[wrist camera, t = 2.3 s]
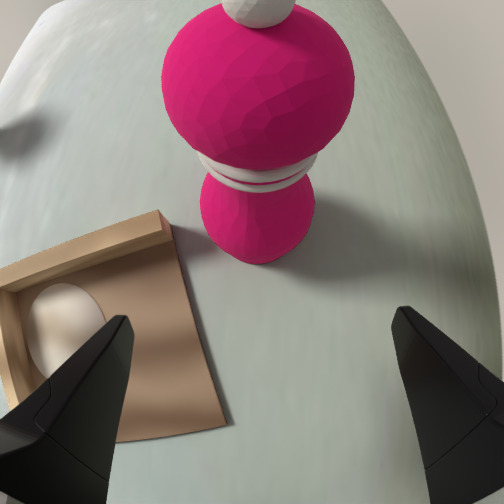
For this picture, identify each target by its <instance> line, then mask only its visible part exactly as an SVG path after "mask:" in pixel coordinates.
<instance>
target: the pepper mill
mask: <svg viewBox="0 0 504 504" xmlns="http://www.w3.org/2000/svg"><path fill="white" fill-rule="evenodd" d="M221 2H222V3H221V4H218V5H216V6H214V7H211V8H209V9H207V10H205V11H203V12H202V13H200V14H199V15H197V16H196V17H195V18H193V19H192V20H190V21H189V22H188V23H187V24H186V25H185V26H184V27H183V28H182V29H181V30H180V31H179V32H178V34H177V36H176V37H175V39H174V40H173V42H172V43H171V45H170V46H169V48H168V50H167V53H166V56H165V59H164V64H163V70H162V76H161V81H162V92H163V98H164V103H165V108H166V111H167V113H168V115H169V118H170V120H171V122H172V124H173V125H174V127H175V128H176V130H177V131H178V133H179V134H180V135H181V136H182V137H183V138H184V139H185V140H186V141H187V142H188V143H189V144H190V145H191V147H192V148H193V149H195V150H197V152H198V155H199V158H200V160H201V162H202V164H203V165H204V167H205V168H206V170H207V171H208V174H207V175H206V178H205V180H204V182H203V186H202V190H201V197H200V209H201V215H202V219H203V223H204V226H205V228H206V230H207V232H208V234H209V236H210V237H211V238H212V240H213V241H214V242H215V243H216V244H217V245H218V246H219V247H220V248H221V249H223V250H224V251H225V252H227V253H229V254H230V255H232V256H233V257H235V258H236V259H238V260H240V261H243V262H246V263H251V264H263V263H268V262H271V261H274V260H276V259H278V258H279V257H281V256H282V255H284V254H286V253H288V252H289V251H291V250H292V249H293V248H294V247H296V246H297V245H298V244H299V243H300V242H301V240H302V239H303V238H304V236H305V235H306V233H307V231H308V229H309V227H310V224H311V221H312V217H313V213H314V205H315V200H314V193H313V188H312V185H311V182H310V179H309V177H308V175H307V174H306V173H307V172H308V171H309V169H310V168H311V167H312V165H313V164H314V162H315V160H316V157H317V154H318V152H319V151H320V150H322V149H323V148H324V147H325V146H326V145H327V144H328V143H329V142H330V141H331V140H332V139H333V138H334V137H335V136H336V134H337V133H338V132H339V131H340V130H341V128H342V126H343V124H344V122H345V120H346V118H347V116H348V114H349V112H350V108H351V104H352V100H353V96H354V81H355V76H354V70H353V64H352V60H351V57H350V54H349V51H348V49H347V47H346V46H345V44H344V42H343V41H342V39H341V38H340V36H339V35H338V34H337V32H336V31H335V30H334V29H333V27H331V26H330V25H329V24H328V23H327V22H326V21H324V20H323V19H322V18H321V17H319V16H318V15H316V14H315V13H313V12H312V11H310V10H307V9H305V8H303V7H301V6H299V5H296V4H295V0H221Z"/></svg>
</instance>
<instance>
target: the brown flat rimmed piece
mask: <svg viewBox="0 0 504 504" xmlns="http://www.w3.org/2000/svg"><path fill="white" fill-rule="evenodd" d="M115 315H127V316H128V318H129V320H130V323H131V325H132V328H133V330H134V335H135V338H134V346H133V353H132V361H131V369H130V376H129V381H128V386H127V390H126V394H125V399H124V403H123V408H122V413H121V417H120V422H119V427H118V432H117V438H116V442H123V441H133V440H142V439H150V438H157V437H164V436H171V435H177V434H183V433H189V432H194V431H200V430H205V429H210V428H215V427H219V426H224V425H227V421H226V419H225V416H224V413H223V410H222V407H221V404H220V401H219V398H218V395H217V392H216V389H215V386H214V382H213V379H212V376H211V373H210V370H209V367H208V363H207V360H206V357H205V354H204V350H203V347H202V343H201V340H200V337H199V333H198V330H197V326H196V323H195V319H194V316H193V312H192V308H191V305H190V301H189V297H188V293H187V290H186V286H185V282H184V278H183V274H182V270H181V266H180V262H179V258H178V254H177V250H176V246H175V241H174V237H173V233H172V228H171V224H170V223H169V222H168V221H167V220H166V218H165V217H164V216H163V215H162V214H161V213H160V211H159V210H155V211H152V212H149V213H146V214H143V215H140V216H137V217H134V218H131V219H128V220H125V221H122V222H119V223H116V224H114V225H111V226H108V227H105V228H102V229H100V230H97V231H94V232H91V233H89V234H86V235H83V236H81V237H78V238H75V239H73V240H70V241H67V242H65V243H62V244H60V245H57V246H54V247H52V248H49V249H47V250H44V251H42V252H39V253H37V254H35V255H32V256H30V257H27V258H25V259H22V260H20V261H18V262H15V263H13V264H11V265H8V266H6V267H4V268H1V269H0V376H1V379H2V383H3V387H4V391H5V394H6V398H7V401H8V404H9V407H10V411H11V410H12V409H14V408H15V407H16V406H17V405H18V404H20V403H21V402H22V401H23V400H24V399H26V398H27V397H28V396H29V395H30V394H31V393H33V392H34V391H35V390H36V389H37V388H38V387H39V386H40V385H41V384H42V383H43V382H44V381H45V380H46V379H47V378H50V375H52V374H53V373H54V372H55V371H56V370H57V369H58V368H59V367H60V366H61V365H62V364H63V363H64V362H65V361H66V360H67V359H68V358H69V357H70V356H71V355H72V354H73V353H75V352H76V351H77V350H78V349H79V348H80V347H81V346H82V345H83V344H84V343H85V342H86V341H87V340H88V339H89V338H91V337H92V336H93V335H94V334H95V333H96V332H97V331H98V330H99V329H100V328H101V327H102V326H104V325H105V324H106V323H107V322H108V321H109V320H110V319H111V318H112V317H113V316H115Z"/></svg>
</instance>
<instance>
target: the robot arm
mask: <svg viewBox="0 0 504 504" xmlns="http://www.w3.org/2000/svg"><path fill="white" fill-rule="evenodd" d="M391 330H392V335H393V340H394V345H395V350H396V355H397V360H398V365H399V369H400V373H401V377H402V380H403V383H404V387H405V390H406V394H407V398H408V401H409V405H410V409H411V413H412V416H413V420H414V424H415V428H416V433H417V437H418V441H419V445H420V450H421V455H422V459H423V464H424V469H425V475H426V480H427V485H428V491H429V497H430V503H431V504H504V382H503V381H501V380H500V379H499V378H497V377H496V376H495V375H494V374H492V373H491V372H490V371H489V370H487V369H486V368H485V367H484V366H483V365H482V364H480V363H478V361H477V360H476V359H474V358H473V357H472V356H471V355H470V354H468V353H467V352H466V351H465V350H464V349H462V348H461V347H460V346H459V345H458V344H456V343H455V342H454V341H453V340H452V339H450V338H449V337H448V336H447V335H445V334H444V333H443V332H442V331H441V330H439V329H438V328H437V327H436V326H434V325H433V324H432V323H431V322H429V321H428V320H427V319H426V318H424V317H423V316H422V315H421V314H419V313H418V312H417V311H415V310H414V309H413V308H412V307H410V306H400V307H398V308H397V310H396V313H395V316H394V318H393V321H392V325H391ZM134 338H135V335H134V330H133V328H132V325H131V323H130V320H129V318H128V316H127V315H115V316H113V317H112V318H111V319H110V320H109V321H108V322H107V323H106V324H105V325H104V326H102V327H101V328H100V329H99V330H98V331H97V332H96V333H95V334H94V335H93V336H92V337H91V338H89V339H88V340H87V341H86V342H85V343H84V344H83V345H82V346H81V347H80V348H79V349H78V350H77V351H76V352H75V353H73V354H72V355H71V356H70V357H69V358H68V359H67V360H66V361H65V362H64V363H63V364H62V365H61V366H60V367H59V368H58V369H57V370H56V371H55V372H54V373H53V374H52V375H50V378H47V379H46V380H45V381H44V382H43V383H42V384H41V385H40V386H39V387H38V388H37V389H36V390H35V391H34V392H33V393H31V394H30V395H29V396H28V397H27V398H26V399H24V400H23V401H22V402H21V403H20V404H18V405H17V406H16V407H15V408H14V409H12V410H11V411H10V412H9V413H8V414H6V415H5V416H4V417H3V418H1V419H0V504H106V500H107V493H108V486H109V483H108V482H109V478H110V472H111V466H112V460H113V454H114V448H115V443H116V438H117V432H118V427H119V422H120V417H121V413H122V408H123V403H124V399H125V394H126V390H127V386H128V381H129V376H130V369H131V361H132V353H133V346H134Z"/></svg>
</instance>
